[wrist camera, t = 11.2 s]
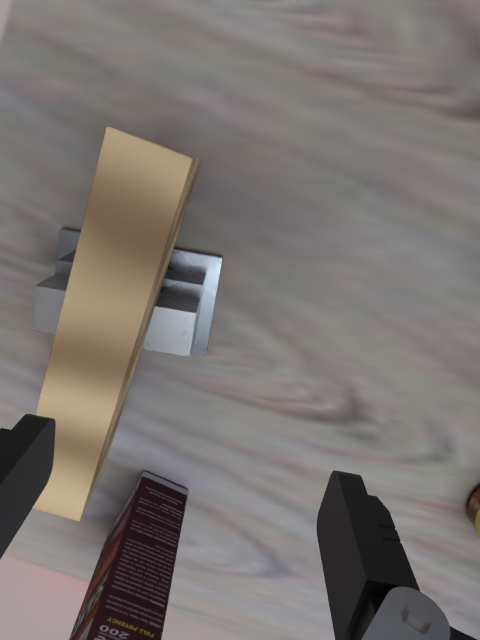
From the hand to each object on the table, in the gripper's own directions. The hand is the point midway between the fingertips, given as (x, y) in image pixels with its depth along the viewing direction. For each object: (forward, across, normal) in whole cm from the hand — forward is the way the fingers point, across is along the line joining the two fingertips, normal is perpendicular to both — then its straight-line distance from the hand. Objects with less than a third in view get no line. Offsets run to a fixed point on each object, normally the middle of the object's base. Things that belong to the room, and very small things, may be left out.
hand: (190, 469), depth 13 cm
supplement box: (+22, +3, +24) cm, 33 cm away
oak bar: (+16, +6, +3) cm, 17 cm away
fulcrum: (+23, +7, +3) cm, 24 cm away
